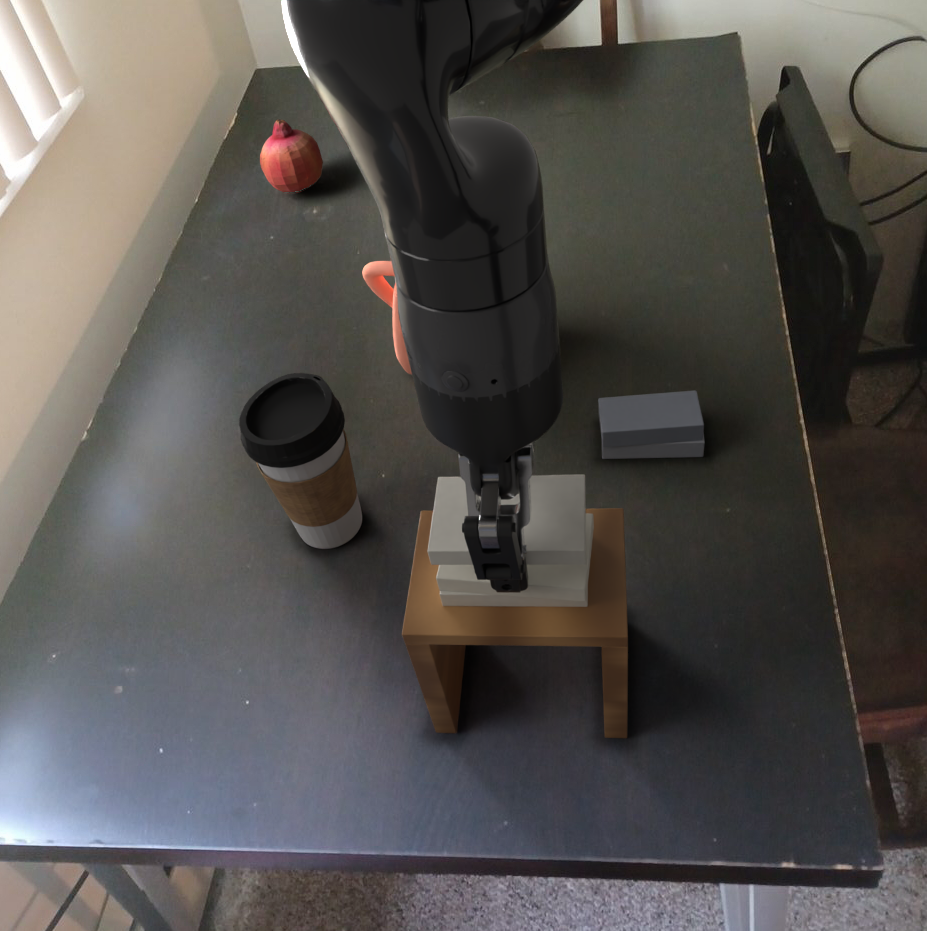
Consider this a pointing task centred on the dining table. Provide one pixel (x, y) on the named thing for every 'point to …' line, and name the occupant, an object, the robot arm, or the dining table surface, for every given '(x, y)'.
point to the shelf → (520, 626)
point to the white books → (543, 590)
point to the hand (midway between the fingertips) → (513, 542)
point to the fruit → (290, 158)
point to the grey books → (651, 426)
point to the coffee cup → (304, 456)
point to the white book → (547, 535)
